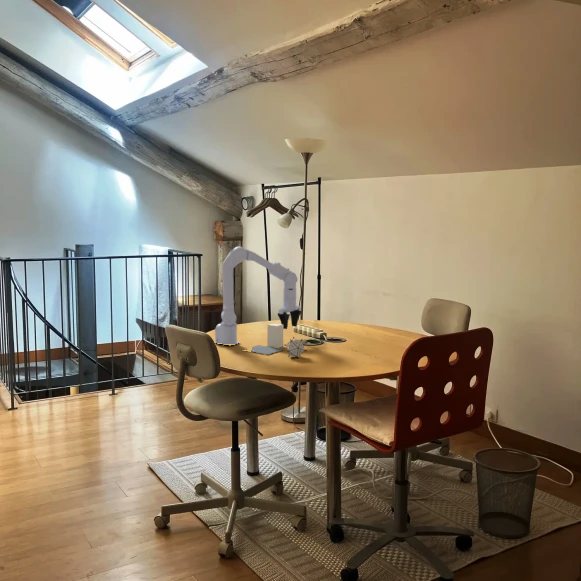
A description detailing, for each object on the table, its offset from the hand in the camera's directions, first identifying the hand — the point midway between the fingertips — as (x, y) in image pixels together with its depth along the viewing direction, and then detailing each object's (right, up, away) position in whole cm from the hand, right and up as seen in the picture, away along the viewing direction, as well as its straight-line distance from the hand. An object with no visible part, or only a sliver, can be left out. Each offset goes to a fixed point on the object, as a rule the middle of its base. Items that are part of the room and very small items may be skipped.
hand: (289, 327), depth 280 cm
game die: (+2, -11, -27) cm, 29 cm away
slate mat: (-11, -9, -15) cm, 21 cm away
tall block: (-6, -8, -8) cm, 13 cm away
